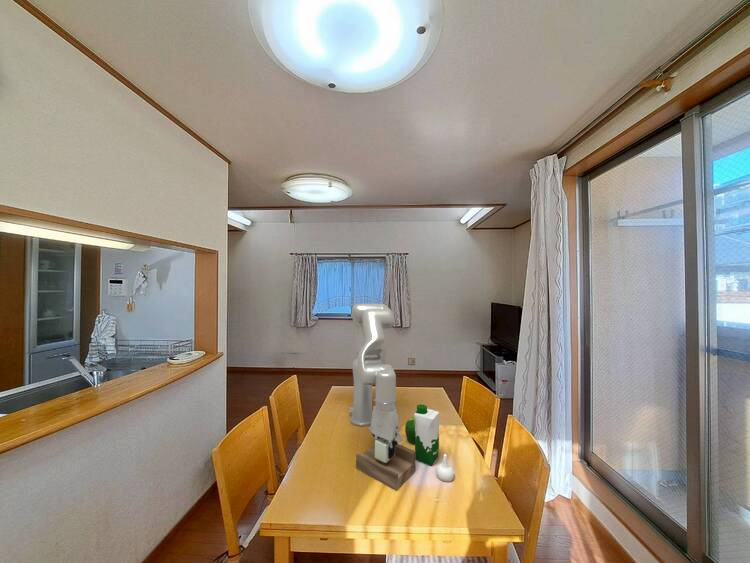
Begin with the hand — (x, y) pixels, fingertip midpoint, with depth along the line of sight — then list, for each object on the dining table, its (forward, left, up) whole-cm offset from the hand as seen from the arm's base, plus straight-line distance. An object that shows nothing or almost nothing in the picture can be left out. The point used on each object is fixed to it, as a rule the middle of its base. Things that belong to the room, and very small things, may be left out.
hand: (385, 453), depth 101 cm
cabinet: (0, 0, -1) cm, 1 cm away
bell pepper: (-1, +24, -6) cm, 25 cm away
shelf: (0, +1, -6) cm, 6 cm away
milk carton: (+9, +16, -6) cm, 19 cm away
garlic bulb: (+19, +11, -6) cm, 23 cm away
